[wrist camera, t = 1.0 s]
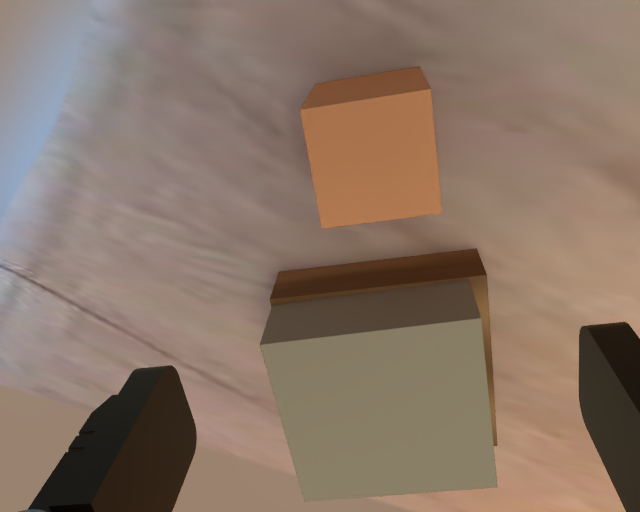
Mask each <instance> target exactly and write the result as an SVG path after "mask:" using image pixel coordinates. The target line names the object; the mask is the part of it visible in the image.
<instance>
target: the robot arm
mask: <svg viewBox="0 0 640 512" xmlns="http://www.w3.org/2000/svg"><path fill="white" fill-rule="evenodd" d="M579 401H580V407H581V412H582V416H583V419H584V423H585V425H586V428H587V430H588V432H589V434H590V436H591V438H592V440H593V443H594V445H595V447H596V449H597V451H598V453H599V455H600V457H601V459H602V462H603V464H604V466H605V468H606V470H607V472H608V474H609V476H610V479H611V481H612V483H613V485H614V487H615V489H616V491H617V493H618V495H619V498H620V500H621V502H622V504H623V506H624V508H625V510H626V512H640V339H639V337H638V336H637V335H636V333H635V332H634V331H633V329H632V328H631V327H630V325H629V324H628V323H626V322H619V323H609V324H599V325H588V326H582V327H581V329H580V335H579ZM195 449H196V427H195V423H194V419H193V416H192V413H191V410H190V407H189V404H188V402H187V399H186V396H185V393H184V390H183V387H182V384H181V381H180V378H179V375H178V372H177V370H176V369H175V368H174V367H173V366H160V367H150V368H139V369H135V370H134V371H133V372H132V373H131V375H130V377H129V378H128V380H127V381H126V383H125V384H124V386H123V388H122V389H121V391H120V392H119V394H118V395H112V396H111V397H110V398H108V399H107V400H106V401H105V402H104V403H103V404H102V405H100V406H99V407H98V408H97V409H96V410H95V411H93V412H92V413H91V415H90V416H89V418H88V419H87V421H86V422H85V424H84V425H83V427H82V428H81V430H80V431H79V436H76V437H75V439H74V440H73V442H72V443H71V445H70V447H69V451H68V452H66V453H65V454H64V456H63V457H62V459H61V460H60V462H59V463H58V465H57V466H56V468H55V469H54V471H53V472H52V474H51V475H50V477H49V478H48V480H47V481H46V483H45V484H44V486H43V487H42V489H41V490H40V492H39V493H38V495H37V496H36V498H35V499H34V501H33V502H32V504H31V505H30V507H29V508H28V510H24V511H19V512H172V510H173V508H174V505H175V503H176V500H177V498H178V495H179V492H180V489H181V487H182V485H183V482H184V480H185V477H186V474H187V472H188V469H189V467H190V464H191V461H192V459H193V456H194V453H195Z"/></svg>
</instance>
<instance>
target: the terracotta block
mask: <svg viewBox="0 0 640 512" xmlns="http://www.w3.org/2000/svg"><path fill="white" fill-rule="evenodd" d="M300 113H301V119H302V124H303V129H304V135H305V140H306V146H307V151H308V156H309V162H310V167H311V173H312V178H313V183H314V189H315V194H316V200H317V205H318V210H319V216H320V221H321V227H322V229H323V228H331V227H339V226H347V225H354V224H362V223H370V222H378V221H386V220H394V219H401V218H409V217H417V216H425V215H433V214H441V213H442V205H441V195H440V184H439V173H438V162H437V151H436V140H435V129H434V118H433V107H432V96H431V88H430V86H429V84H428V82H427V80H426V78H425V76H424V75H423V73H422V71H421V69H420V67H414V68H408V69H402V70H396V71H390V72H384V73H378V74H372V75H366V76H360V77H354V78H348V79H342V80H336V81H330V82H324V83H318V84H315V86H314V87H313V89H312V91H311V92H310V94H309V96H308V97H307V99H306V101H305V102H304V104H303V106H302V107H301V109H300Z"/></svg>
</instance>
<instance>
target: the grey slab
mask: <svg viewBox="0 0 640 512" xmlns="http://www.w3.org/2000/svg"><path fill="white" fill-rule="evenodd" d="M260 348H261V351H262V355H263V358H264V362H265V365H266V369H267V372H268V376H269V379H270V383H271V386H272V390H273V393H274V397H275V400H276V404H277V407H278V411H279V414H280V418H281V421H282V425H283V428H284V432H285V435H286V439H287V442H288V446H289V449H290V453H291V456H292V460H293V463H294V467H295V470H296V474H297V477H298V481H299V484H300V488H301V491H302V495H303V498H304V501H305V502H306V501H320V500H334V499H347V498H361V497H375V496H388V495H402V494H415V493H429V492H442V491H456V490H469V489H483V488H496V487H498V485H497V475H496V465H495V455H494V445H493V435H492V424H491V414H490V404H489V394H488V384H487V373H486V363H485V353H484V343H483V333H482V322H481V316H480V313H479V310H478V307H477V304H476V300H475V297H474V294H473V291H472V287H471V284H470V281H469V280H462V281H454V282H447V283H439V284H432V285H424V286H417V287H409V288H402V289H394V290H386V291H379V292H371V293H364V294H356V295H349V296H341V297H334V298H326V299H319V300H311V301H304V302H296V303H288V304H281V305H273V306H272V308H271V312H270V315H269V318H268V321H267V324H266V327H265V330H264V333H263V336H262V339H261V342H260Z"/></svg>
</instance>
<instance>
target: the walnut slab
mask: <svg viewBox="0 0 640 512" xmlns="http://www.w3.org/2000/svg"><path fill="white" fill-rule="evenodd" d="M462 280H469V281H470V284H471V287H472V291H473V294H474V297H475V300H476V304H477V307H478V310H479V313H480V316H481V322H482V333H483V343H484V353H485V363H486V373H487V384H488V394H489V404H490V414H491V424H492V435H493V445H494V446H497V432H496V416H495V400H494V384H493V367H492V351H491V335H490V319H489V303H488V287H487V274H486V272H485V269H484V266H483V264H482V261H481V258H480V256H479V253H478V251H477V249H470V250H461V251H453V252H444V253H436V254H428V255H419V256H411V257H402V258H394V259H385V260H377V261H368V262H360V263H351V264H343V265H334V266H326V267H317V268H309V269H301V270H292V271H284V272H279V273H278V276H277V279H276V282H275V285H274V288H273V291H272V294H271V297H270V302H271V306H273V305H281V304H288V303H296V302H304V301H311V300H319V299H326V298H334V297H341V296H349V295H356V294H364V293H371V292H379V291H386V290H394V289H402V288H409V287H417V286H424V285H432V284H439V283H447V282H454V281H462Z"/></svg>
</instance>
